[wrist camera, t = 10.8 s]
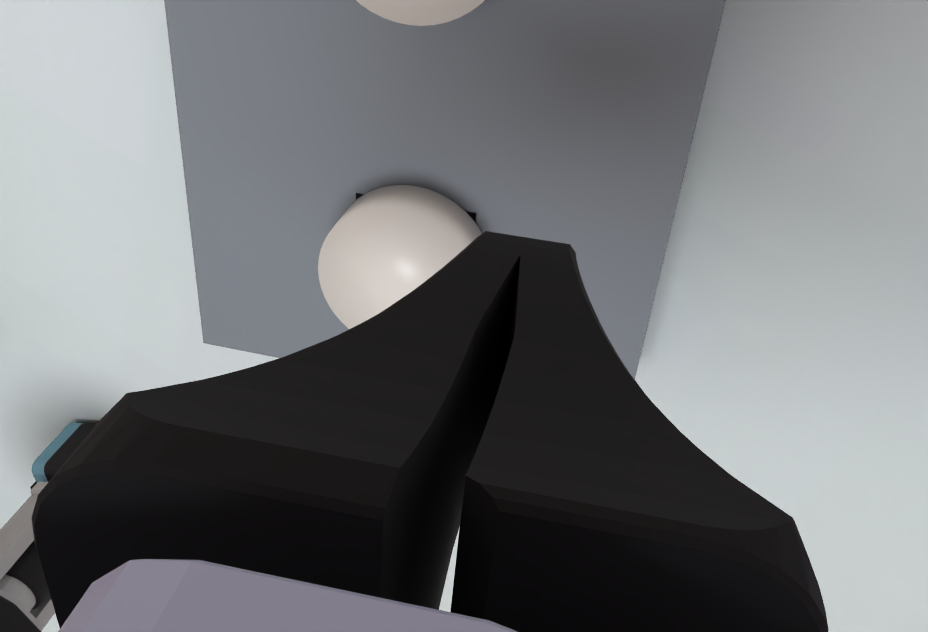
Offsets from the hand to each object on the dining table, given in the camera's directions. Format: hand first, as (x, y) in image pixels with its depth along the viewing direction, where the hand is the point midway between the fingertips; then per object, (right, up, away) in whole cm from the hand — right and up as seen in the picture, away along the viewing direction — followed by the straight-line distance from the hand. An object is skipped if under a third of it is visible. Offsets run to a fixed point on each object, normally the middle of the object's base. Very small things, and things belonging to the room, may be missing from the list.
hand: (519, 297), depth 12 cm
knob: (-2, +2, +10) cm, 11 cm away
